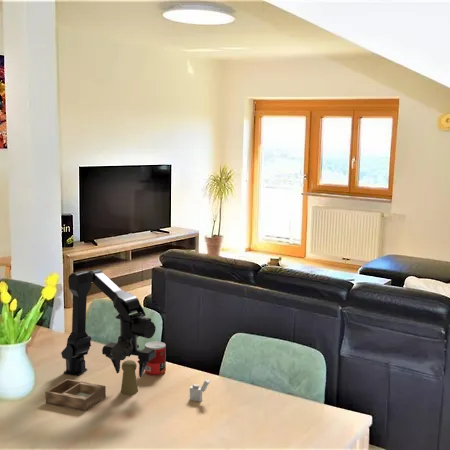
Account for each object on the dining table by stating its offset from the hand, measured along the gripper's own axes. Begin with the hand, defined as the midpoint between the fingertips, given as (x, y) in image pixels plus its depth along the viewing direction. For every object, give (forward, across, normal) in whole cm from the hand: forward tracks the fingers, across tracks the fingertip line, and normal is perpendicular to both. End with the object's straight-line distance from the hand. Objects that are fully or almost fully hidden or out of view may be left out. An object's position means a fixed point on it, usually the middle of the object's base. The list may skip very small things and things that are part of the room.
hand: (129, 374), depth 217 cm
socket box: (+6, -13, -14) cm, 20 cm away
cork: (+6, 0, 0) cm, 6 cm away
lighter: (+6, +26, +3) cm, 27 cm away
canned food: (+6, 0, +19) cm, 20 cm away
